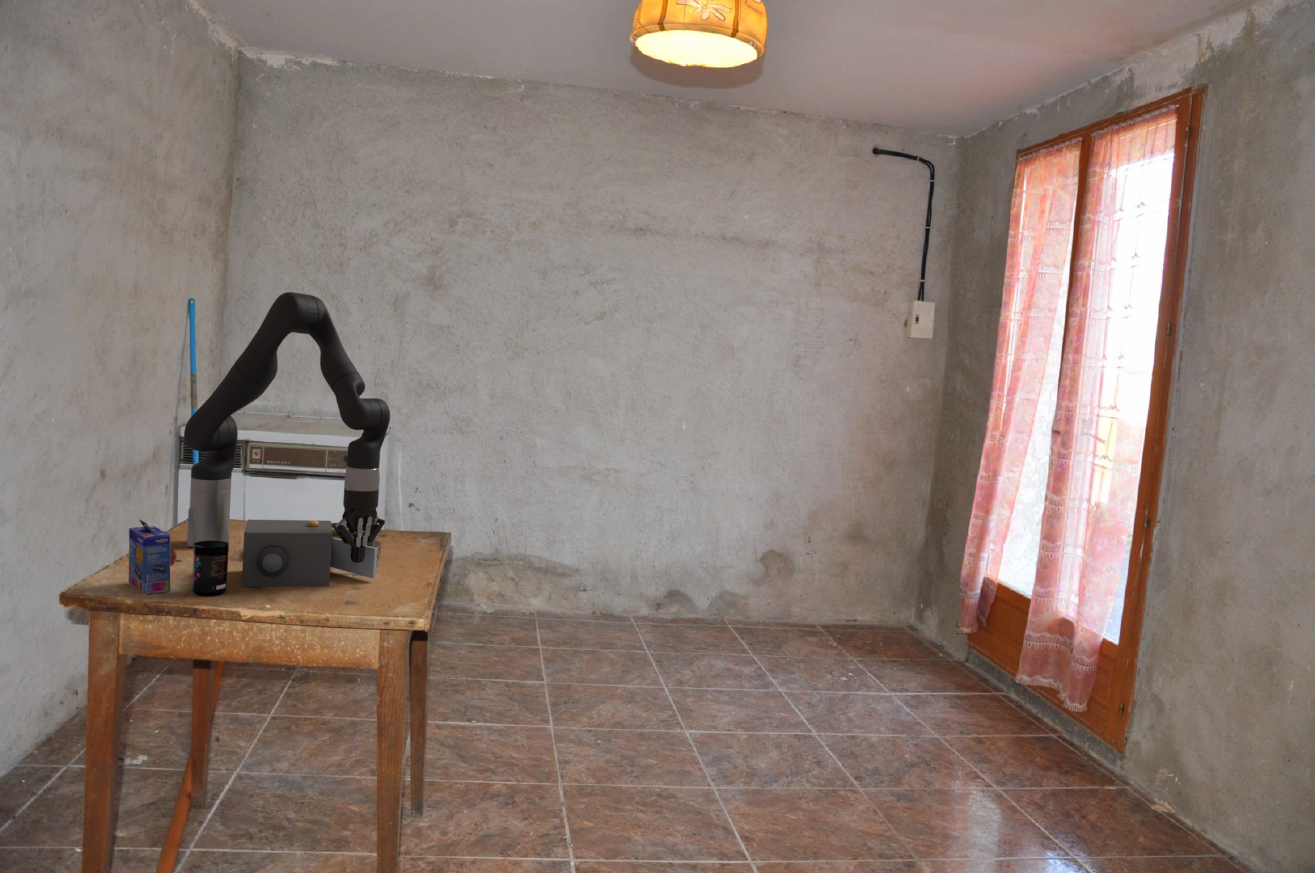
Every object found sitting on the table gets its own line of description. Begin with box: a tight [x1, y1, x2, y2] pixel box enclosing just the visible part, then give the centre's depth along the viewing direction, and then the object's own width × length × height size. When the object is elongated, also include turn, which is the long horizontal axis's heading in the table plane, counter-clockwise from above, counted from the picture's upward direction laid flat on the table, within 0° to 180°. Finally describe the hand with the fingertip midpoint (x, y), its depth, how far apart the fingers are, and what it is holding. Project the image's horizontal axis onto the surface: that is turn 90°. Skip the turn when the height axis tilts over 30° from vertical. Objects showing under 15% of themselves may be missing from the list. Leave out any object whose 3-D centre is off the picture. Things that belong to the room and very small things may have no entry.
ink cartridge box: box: [128, 519, 171, 595], centre depth 198 cm, size 10×6×14 cm, turn 46°
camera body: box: [241, 519, 332, 588], centre depth 212 cm, size 18×17×13 cm
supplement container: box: [191, 541, 230, 597], centre depth 198 cm, size 7×7×10 cm
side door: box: [330, 537, 379, 579], centre depth 220 cm, size 1×14×7 cm, turn 61°
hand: (357, 561), depth 214 cm, fingers closed
